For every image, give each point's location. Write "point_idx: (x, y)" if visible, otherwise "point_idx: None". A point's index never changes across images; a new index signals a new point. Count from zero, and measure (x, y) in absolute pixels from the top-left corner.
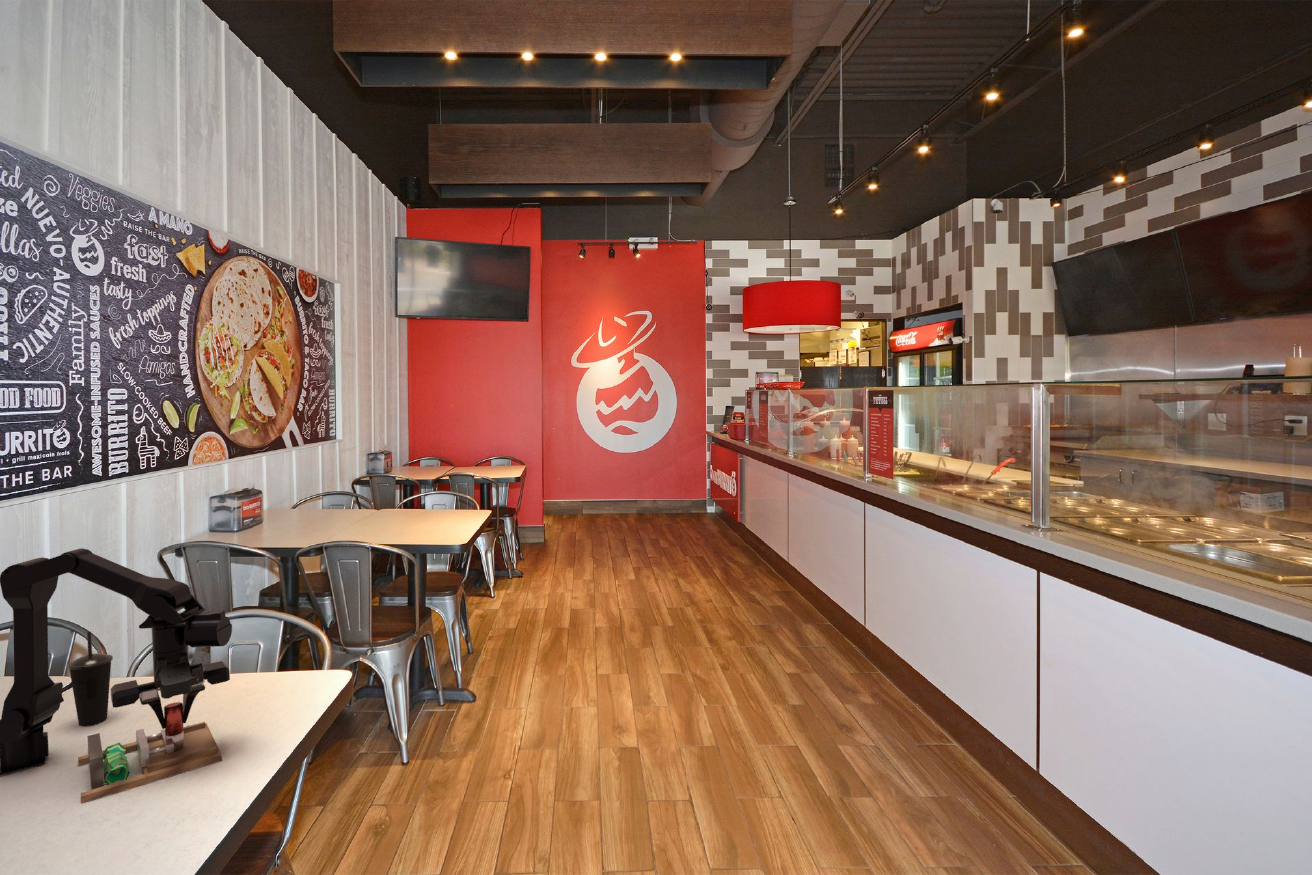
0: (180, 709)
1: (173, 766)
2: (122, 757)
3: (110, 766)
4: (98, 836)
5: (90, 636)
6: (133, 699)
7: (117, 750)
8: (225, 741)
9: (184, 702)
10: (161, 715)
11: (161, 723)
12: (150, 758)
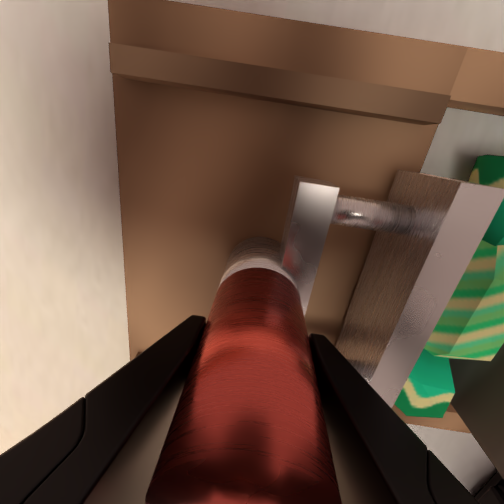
0: (193, 409)
1: (327, 67)
2: (457, 300)
3: None
4: None
5: None
6: None
7: (425, 375)
8: (96, 220)
9: (121, 501)
10: (373, 424)
11: (343, 360)
12: (353, 253)
